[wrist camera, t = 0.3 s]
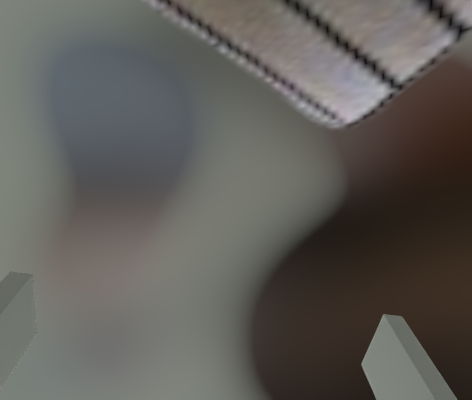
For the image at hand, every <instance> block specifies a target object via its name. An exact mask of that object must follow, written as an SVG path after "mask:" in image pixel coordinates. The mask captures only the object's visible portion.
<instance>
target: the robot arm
mask: <svg viewBox="0 0 472 400" xmlns="http://www.w3.org/2000/svg"><path fill="white" fill-rule="evenodd" d="M36 334H37V322H36V308H35V294H34V280H33V274H27V273H18V272H9V273H8V275H7V276H6V277H5V278H4V279H3V280H2V281H1V282H0V391H1V389H2V388H3V386H4V385H5V383H6V381H7V380H8V378H9V377H10V375H11V374H12V372H13V370H14V369H15V367H16V366H17V364H18V362H19V361H20V359H21V358H22V356H23V355H24V353H25V352H26V350H27V348H28V347H29V345H30V344H31V342H32V341H33V339H34V337H35V336H36ZM361 365H362V367H363V370H364V372H365V374H366V376H367V379H368V381H369V383H370V386H371V388H372V390H373V392H374V395H375V397H376V399H377V400H457V399H456V397H455V396H454V394H453V393H452V391H451V390H450V388H449V387H448V385H447V384H446V382H445V381H444V379H443V378H442V376H441V375H440V373H439V372H438V370H437V369H436V367H435V366H434V364H433V363H432V361H431V360H430V358H429V357H428V355H427V354H426V352H425V351H424V349H423V348H422V346H421V345H420V343H419V342H418V340H417V339H416V337H415V336H414V334H413V333H412V331H411V330H410V328H409V327H408V325H407V323H406V322H405V321H404V319H403V317H402V316H394V315H385V314H384V315H383V317H382V319H381V321H380V324H379V326H378V328H377V330H376V332H375V335H374V337H373V339H372V342H371V344H370V346H369V348H368V350H367V353H366V355H365V357H364V359H363V362H362V364H361Z"/></svg>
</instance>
